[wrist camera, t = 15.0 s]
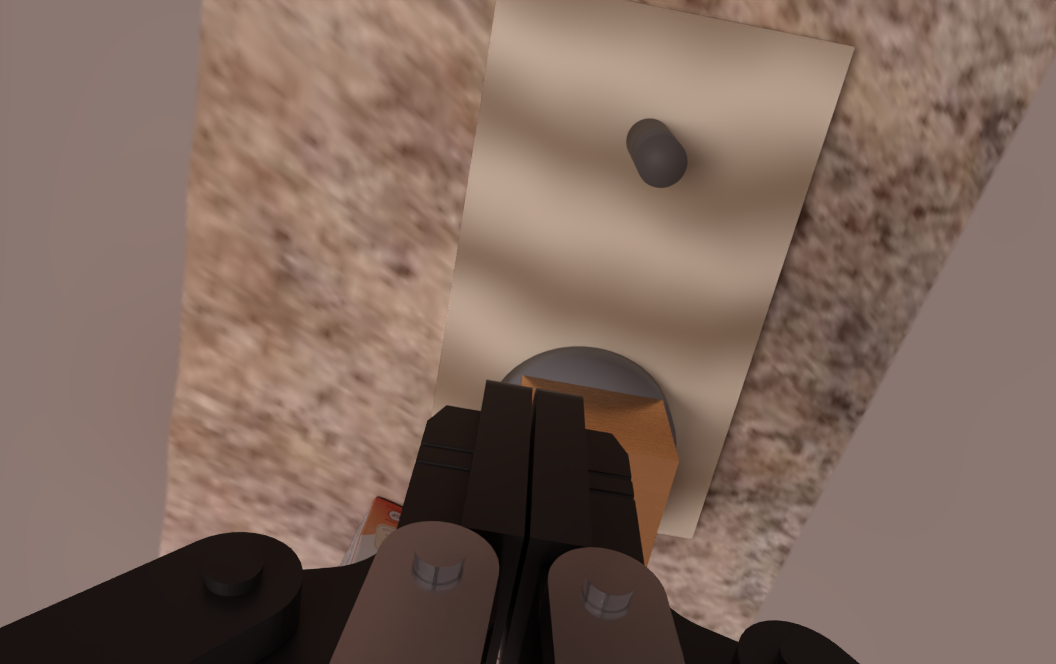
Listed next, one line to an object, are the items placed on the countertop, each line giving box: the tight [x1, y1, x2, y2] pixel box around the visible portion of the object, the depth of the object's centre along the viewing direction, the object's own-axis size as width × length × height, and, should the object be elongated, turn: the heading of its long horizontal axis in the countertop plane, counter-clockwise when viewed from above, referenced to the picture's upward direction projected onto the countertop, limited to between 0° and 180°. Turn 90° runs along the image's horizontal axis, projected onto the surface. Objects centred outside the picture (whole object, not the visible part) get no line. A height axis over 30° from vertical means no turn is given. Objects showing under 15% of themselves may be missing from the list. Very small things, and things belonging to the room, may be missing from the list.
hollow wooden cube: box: [520, 375, 679, 567], centre depth 34 cm, size 6×6×5 cm
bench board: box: [431, 0, 855, 539], centre depth 34 cm, size 24×14×7 cm, turn 169°
